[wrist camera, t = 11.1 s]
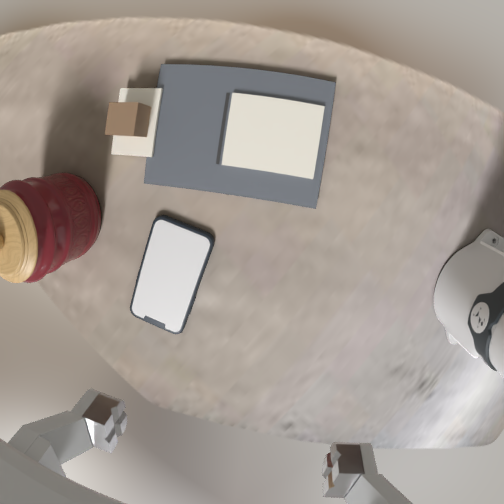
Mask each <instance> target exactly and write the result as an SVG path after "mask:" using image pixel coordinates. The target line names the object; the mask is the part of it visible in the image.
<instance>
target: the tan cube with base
mask: <svg viewBox="0 0 504 504" xmlns="http://www.w3.org/2000/svg"><path fill="white" fill-rule="evenodd" d="M162 92H163V89H162V88H120V94H119V100H118V102H109V107H108V114H107V121H106V128H105V135H113V143H112V152H111V154H116V155H131V156H143V157H153V154H154V146H155V138H156V130H157V123H158V117H159V110H160V104H161V98H162Z"/></svg>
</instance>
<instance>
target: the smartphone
mask: <svg viewBox="0 0 504 504" xmlns="http://www.w3.org/2000/svg"><path fill="white" fill-rule="evenodd" d="M213 246H214V238H213V236H212V235H211V234H210V233H208V232H206V231H203V230H201V229H198V228H196V227H193V226H191V225H188V224H186V223H183V222H181V221H178V220H176V219H173V218H171V217H168V216H166V215H161V216H158V217H157V218H155V220H154V221H153V224H152V228H151V231H150V234H149V238H148V241H147V245H146V248H145V252H144V255H143V259H142V262H141V266H140V270H139V272H138V276H137V280H136V285H135V289H134V293H133V297H132V301H131V305H130V311H131V313H132V314H133V315H134V316H135V317H137V318H139V319H142V320H144V321H146V322H148V323H150V324H153V325H155V326H157V327H159V328H162V329H164V330H166V331H168V332H171V333H173V334H179V333H181V332H182V331H183V329H184V327H185V325H186V322H187V319H188V316H189V314H190V312H191V309H192V305H193V304H194V301H195V298H196V293H197V290H198V288H199V285H200V282H201V279H202V277H203V274H204V271H205V268H206V265H207V263H208V260H209V257H210V254H211V252H212V249H213Z"/></svg>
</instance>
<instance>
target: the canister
mask: <svg viewBox="0 0 504 504" xmlns="http://www.w3.org/2000/svg"><path fill="white" fill-rule="evenodd" d="M100 227H101V210H100V205H99V201H98V199H97V196H96V194H95V192H94V190H93V189H92V187H91V186H90V185H89V184H88V183H87V182H86V181H85V180H84V179H82V178H81V177H79V176H77V175H73V174H69V173H56V174H52V175H50V176H45V177H39V178H36V177H31V178H27V179H24V180H22V181H21V180H12V181H9V182H7V183H5V184H4V185H3V186H2V187H1V188H0V276H1V277H2V278H4V279H5V280H7V281H9V282H12V283H20V282H27V283H31V282H36V281H39V280H40V279H42V278H43V277H44V276H45V275H46V274H48V273H51V272H54V271H55V270H57V269H58V268H59V267H60V266H62V265H63V264H65V263H67V262H69V261H71V260H74V259H77V258H79V257H80V256H82V255H83V254H85V253H86V252H87V251H88V250H89V249H90V248H91V247H92V245H93V244H94V243H95V241H96V239H97V237H98V235H99V232H100Z"/></svg>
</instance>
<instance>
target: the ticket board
mask: <svg viewBox="0 0 504 504" xmlns="http://www.w3.org/2000/svg"><path fill="white" fill-rule="evenodd" d="M335 84H336V82H331V81H326V80H321V79H316V78H311V77H305V76H299V75H293V74H287V73H280V72H273V71H265V70H257V69H248V68H237V67H225V66H210V65H187V64H161V68H160V73H159V78H158V84H157V88H162V89H163V92H162V98H161V104H160V110H159V117H158V123H157V130H156V138H155V146H154V154H153V157H147V159H146V168H145V178H144V183H146V184H154V185H163V186H171V187H179V188H186V189H194V190H201V191H209V192H216V193H223V194H230V195H236V196H243V197H249V198H256V199H262V200H268V201H274V202H280V203H286V204H292V205H298V206H303V207H309V208H315V209H316V205H317V199H318V194H319V188H320V182H321V177H322V171H323V165H324V159H325V153H326V146H327V140H328V134H329V127H330V120H331V113H332V106H333V99H334V92H335Z"/></svg>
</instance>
